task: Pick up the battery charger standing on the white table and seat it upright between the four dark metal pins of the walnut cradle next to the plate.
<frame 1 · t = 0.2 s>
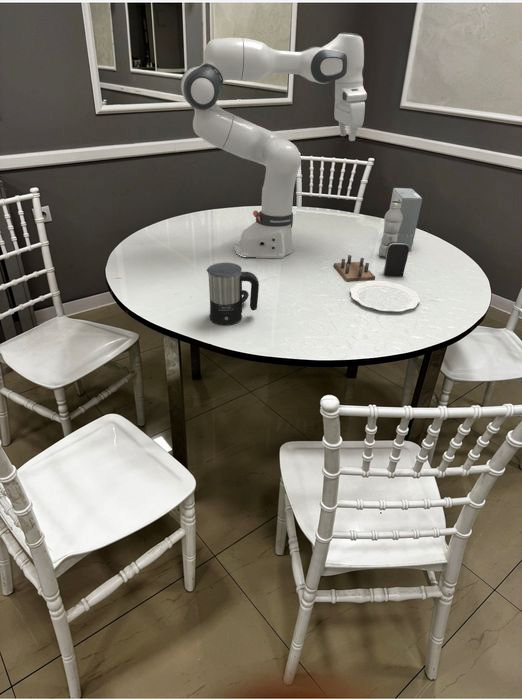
hand: (347, 138, 161), 39 cm above the table, tool pointing down, fingers open, 8 cm apart
milk frother: (229, 311, 136), on the table
hard drive box: (397, 244, 187), on the table
plastic bottle: (386, 256, 175), on the table
battery charger: (392, 275, 161), on the table
pin cradle: (353, 272, 161), on the table
plate: (383, 300, 146), on the table
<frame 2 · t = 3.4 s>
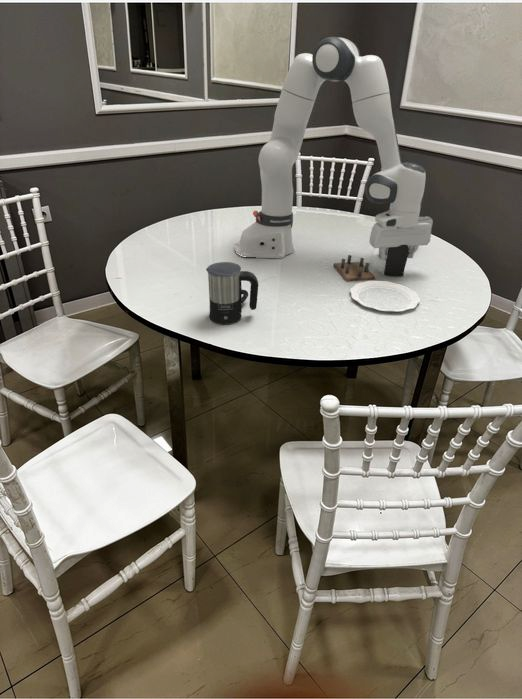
hand: (396, 258, 158), 6 cm above the table, tool pointing down, fingers open, 8 cm apart
nothing on the table moved.
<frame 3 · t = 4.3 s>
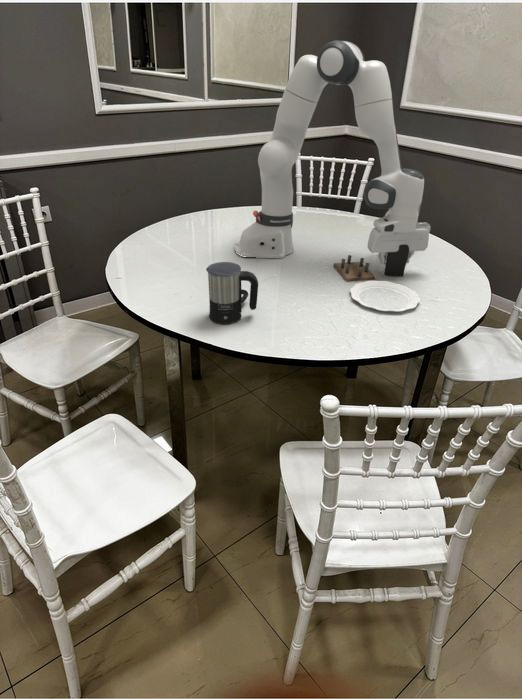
hand: (394, 263, 159), 4 cm above the table, tool pointing down, fingers closed on battery charger, 7 cm apart
battery charger: (392, 274, 161), on the table, touching gripper
everything else where it was.
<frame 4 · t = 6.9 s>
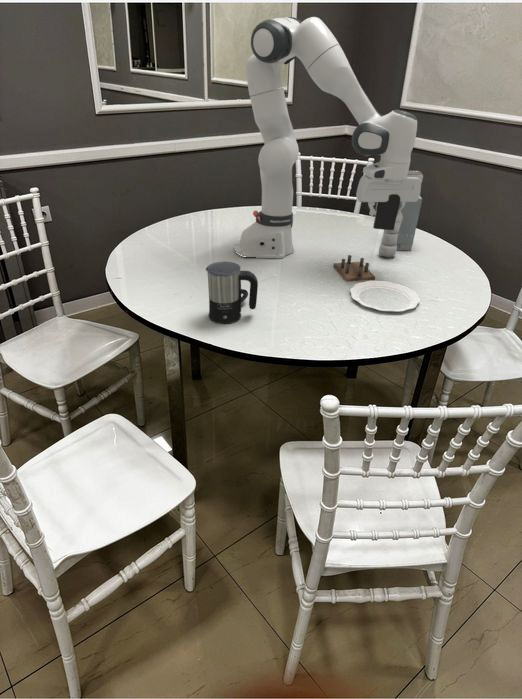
hand: (384, 215, 151), 20 cm above the table, tool pointing down, fingers closed on battery charger, 7 cm apart
battery charger: (382, 228, 153), point 16 cm above the table, touching gripper
everything else where it was.
when the fingers open (9 cm above the table, at t = 8.8 s): battery charger stays where it is, resting on pin cradle.
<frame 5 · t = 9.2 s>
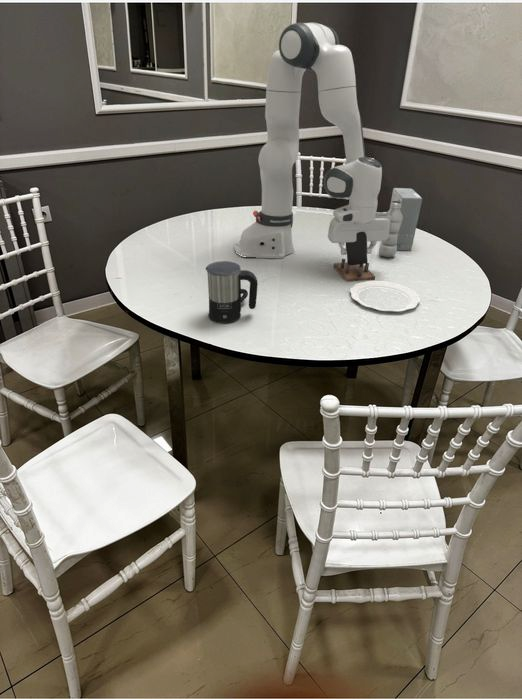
hand: (355, 253, 158), 7 cm above the table, tool pointing down, fingers open, 7 cm apart
battery charger: (357, 263, 159), point 4 cm above the table, touching gripper, pin cradle
everything else where it was.
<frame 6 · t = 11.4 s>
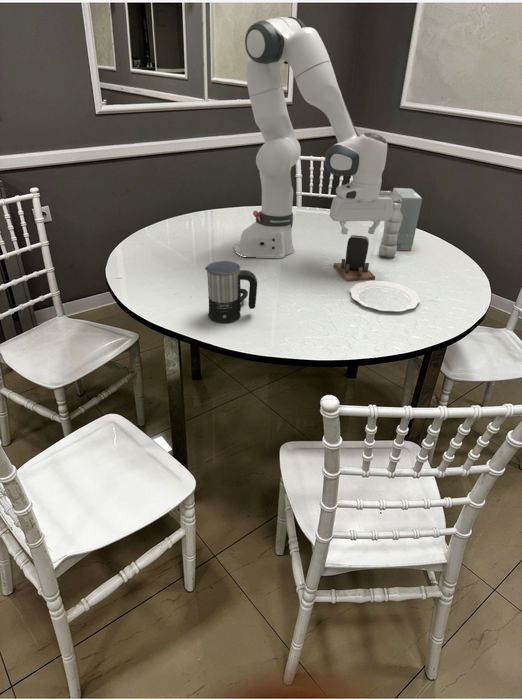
hand: (357, 233, 154), 14 cm above the table, tool pointing down, fingers open, 8 cm apart
battery charger: (354, 269, 161), point 1 cm above the table, touching pin cradle
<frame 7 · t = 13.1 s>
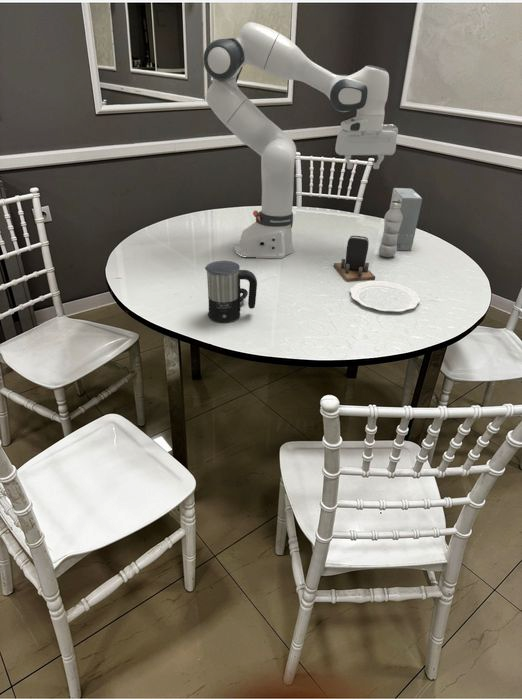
hand: (362, 168, 160), 30 cm above the table, tool pointing down, fingers open, 8 cm apart
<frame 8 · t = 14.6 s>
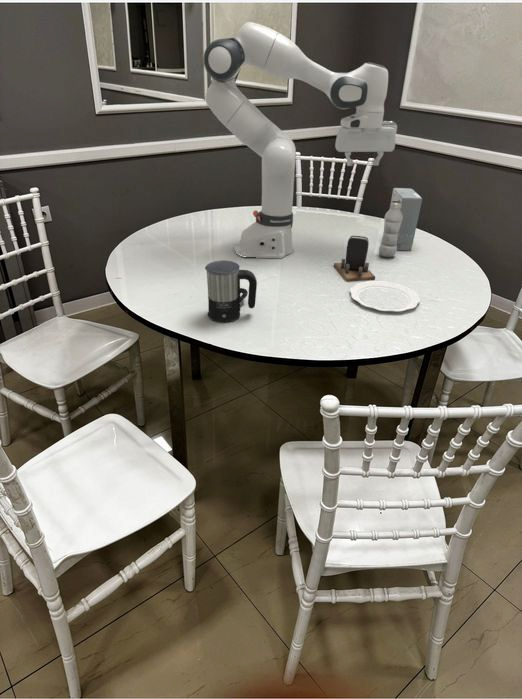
hand: (362, 165, 161), 31 cm above the table, tool pointing down, fingers open, 8 cm apart
at the end: battery charger 0.7 cm off-centre on the pin cradle, point 1.0 cm above the pin cradle's base; battery charger tilted 0°; the gripper is holding nothing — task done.
